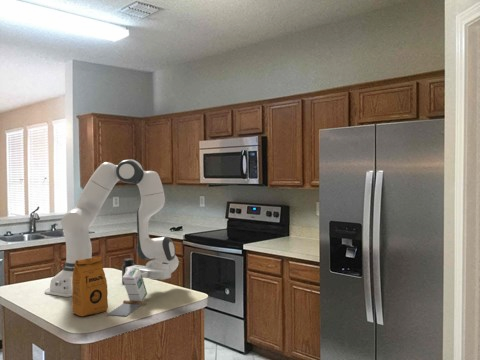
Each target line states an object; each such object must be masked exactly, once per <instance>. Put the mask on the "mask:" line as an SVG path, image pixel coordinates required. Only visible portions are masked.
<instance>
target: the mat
mask: <svg viewBox="0 0 480 360" xmlns="http://www.w3.org/2000/svg"><path fill="white" fill-rule="evenodd" d="M141 306H142V305H136V304H123V303H122V304H120V305H119V306H117V307H116V308H114V309H113V310H111V311H109V312H108V313H107V314H106V316H114V317H115V316H116V317H127V316H129V315H130V314H132V313H133V312H134V311H136V310H137V309H139V308H140V307H141Z"/></svg>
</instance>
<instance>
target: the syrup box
mask: <svg viewBox="0 0 480 360" xmlns="http://www.w3.org/2000/svg"><path fill="white" fill-rule="evenodd" d="M122 279H123V282H124V284H123V285H124V287H125V290H126V294H127V296H128V299H129V300H130V301H145V299H146V297H147V295H148V292H147V288H146V284H145V281H144V278H142V274H141V271H140V269H137V268H128V269H127V271H126V272H125V274H124V275H123V277H122V276H121V280H122Z"/></svg>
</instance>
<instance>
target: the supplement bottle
mask: <svg viewBox="0 0 480 360" xmlns="http://www.w3.org/2000/svg"><path fill="white" fill-rule="evenodd" d="M134 265H136V264H135V259H134V258H133V257H132V258H124V259H123V264H122V266H121V283H122V284H123V285H124V282H123V279H122V277H123V275H124V274H125V269H126V267H130V266H134Z"/></svg>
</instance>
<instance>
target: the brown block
mask: <svg viewBox="0 0 480 360" xmlns="http://www.w3.org/2000/svg"><path fill="white" fill-rule="evenodd" d="M122 304H136V305H141V306H146V305H147V301H145V300H144V301H130V300H128V299H127V300H126V299H123V301H122Z"/></svg>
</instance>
